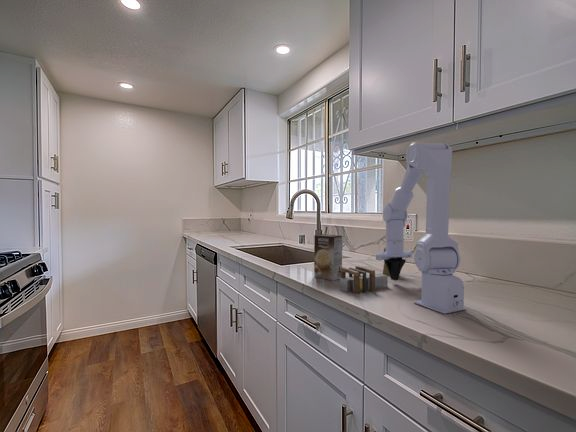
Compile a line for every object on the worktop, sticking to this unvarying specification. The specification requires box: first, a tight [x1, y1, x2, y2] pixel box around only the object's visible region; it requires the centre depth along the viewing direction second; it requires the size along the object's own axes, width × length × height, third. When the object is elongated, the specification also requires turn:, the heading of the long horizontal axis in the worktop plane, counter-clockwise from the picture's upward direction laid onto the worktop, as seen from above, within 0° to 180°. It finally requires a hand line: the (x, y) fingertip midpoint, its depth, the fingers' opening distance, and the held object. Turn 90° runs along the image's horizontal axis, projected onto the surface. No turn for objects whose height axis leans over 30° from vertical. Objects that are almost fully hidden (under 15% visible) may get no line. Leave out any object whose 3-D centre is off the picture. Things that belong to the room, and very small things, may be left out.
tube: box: [339, 272, 389, 294], centre depth 94 cm, size 16×4×4 cm, turn 113°
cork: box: [382, 246, 390, 277], centre depth 114 cm, size 6×6×11 cm
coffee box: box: [313, 233, 343, 281], centre depth 110 cm, size 9×6×16 cm
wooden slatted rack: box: [339, 265, 376, 295], centre depth 93 cm, size 8×7×6 cm
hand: (394, 279), depth 100 cm, fingers closed
